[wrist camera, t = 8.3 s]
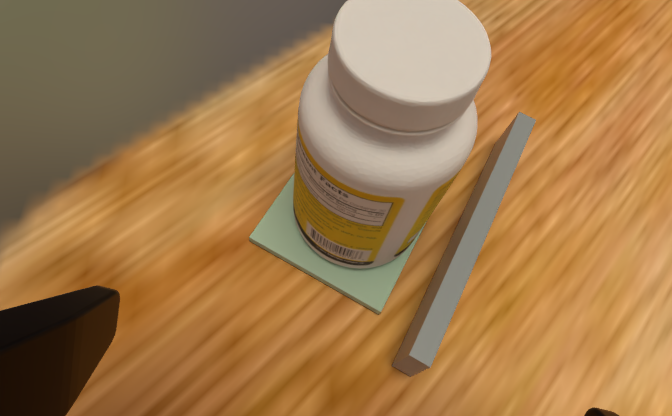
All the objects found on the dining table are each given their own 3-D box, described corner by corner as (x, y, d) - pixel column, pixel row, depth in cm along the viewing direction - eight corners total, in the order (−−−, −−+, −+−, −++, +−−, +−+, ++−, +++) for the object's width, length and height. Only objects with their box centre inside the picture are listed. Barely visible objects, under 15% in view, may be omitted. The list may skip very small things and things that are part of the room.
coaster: (378, 314, 19) (380, 311, 19) (249, 240, 20) (249, 237, 19) (445, 183, 22) (447, 179, 22) (331, 123, 23) (332, 118, 22)
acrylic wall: (410, 376, 18) (430, 367, 16) (391, 365, 18) (408, 354, 16) (510, 150, 23) (536, 119, 21) (495, 143, 24) (519, 111, 21)
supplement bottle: (392, 146, 22) (471, -47, 13) (436, 254, 20) (562, 108, 11) (277, 169, 21) (280, -28, 12) (310, 286, 19) (343, 150, 10)
